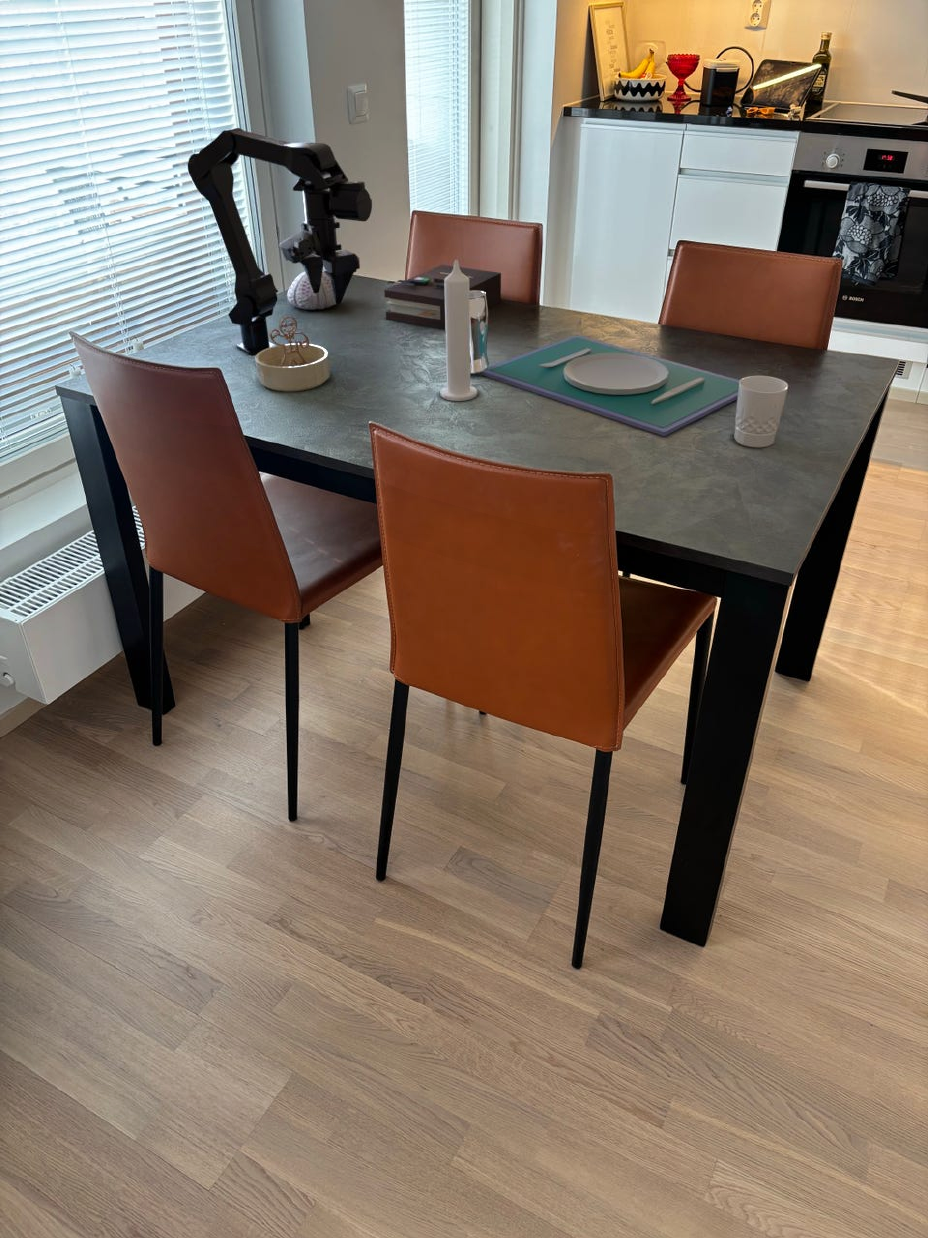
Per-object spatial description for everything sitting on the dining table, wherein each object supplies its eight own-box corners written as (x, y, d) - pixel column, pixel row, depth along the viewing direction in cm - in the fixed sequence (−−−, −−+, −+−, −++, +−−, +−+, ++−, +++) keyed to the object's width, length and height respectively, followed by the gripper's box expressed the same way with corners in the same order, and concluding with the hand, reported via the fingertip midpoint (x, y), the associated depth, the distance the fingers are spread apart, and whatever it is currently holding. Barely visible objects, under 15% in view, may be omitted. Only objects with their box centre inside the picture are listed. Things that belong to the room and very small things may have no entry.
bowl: (246, 377, 190) (243, 353, 187) (308, 362, 197) (305, 338, 194) (279, 398, 181) (276, 372, 178) (343, 381, 188) (340, 356, 185)
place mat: (479, 373, 190) (479, 363, 188) (576, 337, 207) (576, 327, 206) (663, 436, 163) (665, 424, 162) (756, 388, 180) (758, 377, 179)
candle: (481, 389, 182) (481, 256, 168) (470, 403, 177) (468, 266, 163) (447, 386, 184) (444, 253, 170) (435, 399, 179) (430, 263, 165)
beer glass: (488, 374, 187) (483, 297, 179) (454, 375, 189) (447, 298, 181) (494, 364, 193) (489, 289, 185) (461, 365, 194) (455, 290, 187)
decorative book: (510, 267, 228) (444, 299, 207) (509, 299, 232) (445, 333, 211) (442, 258, 236) (373, 287, 215) (443, 288, 240) (376, 320, 219)
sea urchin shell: (318, 315, 223) (315, 281, 219) (276, 307, 230) (272, 273, 225) (353, 301, 232) (351, 268, 228) (312, 293, 239) (308, 261, 234)
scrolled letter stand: (309, 368, 192) (302, 309, 185) (318, 373, 189) (312, 314, 183) (270, 378, 188) (261, 318, 181) (279, 384, 185) (271, 323, 178)
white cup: (724, 431, 164) (732, 376, 159) (768, 429, 165) (778, 374, 159) (739, 450, 158) (748, 393, 152) (784, 448, 158) (795, 391, 153)
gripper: (260, 213, 184) (270, 294, 193) (306, 231, 172) (314, 316, 181) (311, 206, 190) (318, 285, 199) (358, 223, 177) (363, 306, 186)
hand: (327, 298), depth 191 cm, fingers open, 9 cm apart
